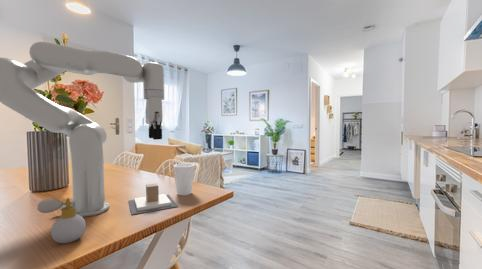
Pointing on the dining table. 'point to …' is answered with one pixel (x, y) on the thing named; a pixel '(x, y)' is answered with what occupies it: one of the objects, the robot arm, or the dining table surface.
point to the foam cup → (184, 178)
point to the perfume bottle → (64, 220)
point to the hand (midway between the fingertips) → (155, 138)
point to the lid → (151, 199)
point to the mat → (134, 209)
